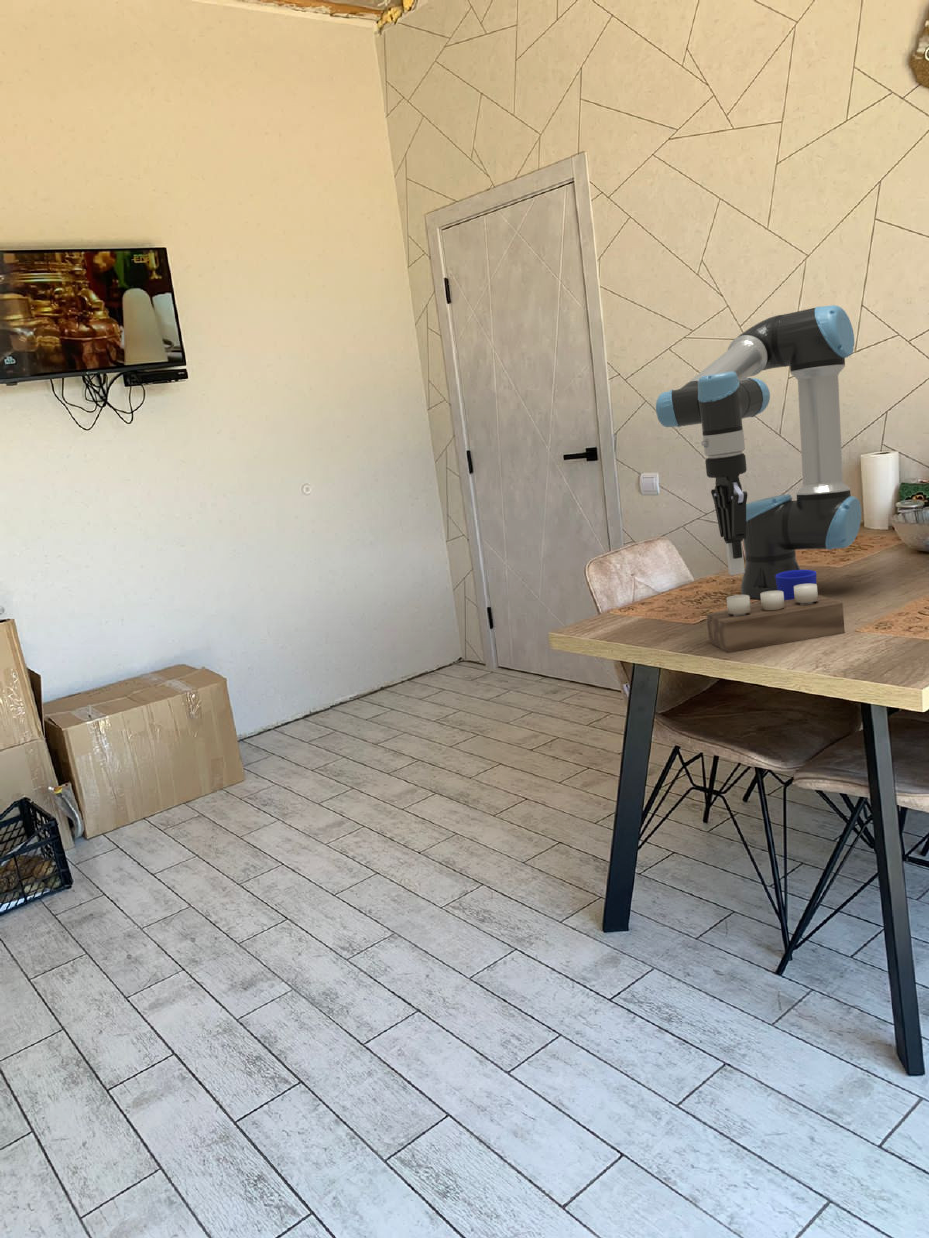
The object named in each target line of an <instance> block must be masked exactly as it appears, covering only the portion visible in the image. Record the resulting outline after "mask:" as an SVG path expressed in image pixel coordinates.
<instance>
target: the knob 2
mask: <svg viewBox="0 0 929 1238" xmlns="http://www.w3.org/2000/svg"><path fill="white" fill-rule="evenodd" d="M760 596H761V599H760V605H761V607H762V609H763V610H767V611H774V610H780V609H782V608H784V607H785V605H784V593H783V591H766V592H762V593H761V594H760Z"/></svg>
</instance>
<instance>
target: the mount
mask: <svg viewBox="0 0 929 1238" xmlns="http://www.w3.org/2000/svg"><path fill="white" fill-rule="evenodd" d="M843 604H844V603H843V602H841V601H838V600H836V599H832V598H829V597H826V596H824V595H820V594H818V600H817V601H815V602H813V604H809V605H803V606H802V605H800V603H797V602H795V599H791V600H785V601H784V605H785V607H784V608H782V609H780V610H774V611H767V610H763V609H762V607H761V604H757V605H750V608H751V611H750V612H749V613H746V615H744V616H739V617H733V614H729V613H728V609H727V610H722V611H721V610H720V611H715V612H710V613H706V620H707V622H706V624H707V629H708V630H707V631H708V641H709V643H710V644H712V645H713V646H716V647H717V648H719V649H720V650H721V651H724V652H725V653H735V652H738V651H739V652H740V651H745V650H746V651H747V650H750V649H756V648H758V649H759V648H761V647H762V648H763V647H768V646H774V645H780V644H781V645H782V644H786V643H791V642H792V643H793V642H798V641H803V640H804V641H805V640H808V639H814V638H815V639H816V638H821V637H826V636H834V635H838V634H844V633H845V619H844V616H845V615H844V605H843Z"/></svg>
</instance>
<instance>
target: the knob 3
mask: <svg viewBox="0 0 929 1238" xmlns="http://www.w3.org/2000/svg"><path fill="white" fill-rule="evenodd" d="M818 595H819V594H818V585H817V583H816V584H810V583H809V584H799V585H795V586H794V597H795V602H797V603H800V605H802V606H803V605H809V604H813V602H815V601H817V600H818Z"/></svg>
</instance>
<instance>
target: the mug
mask: <svg viewBox="0 0 929 1238" xmlns="http://www.w3.org/2000/svg"><path fill="white" fill-rule="evenodd" d="M775 577H776V583H777V589H778V591H783V593H784V601H785V600H791V599H795V597H794V586H795V585H799V584H809V583H810V584H817V571H816V570H812V569H800V570H792V571H786V572H781V573H778V574H777V575H776V576H775Z"/></svg>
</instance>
